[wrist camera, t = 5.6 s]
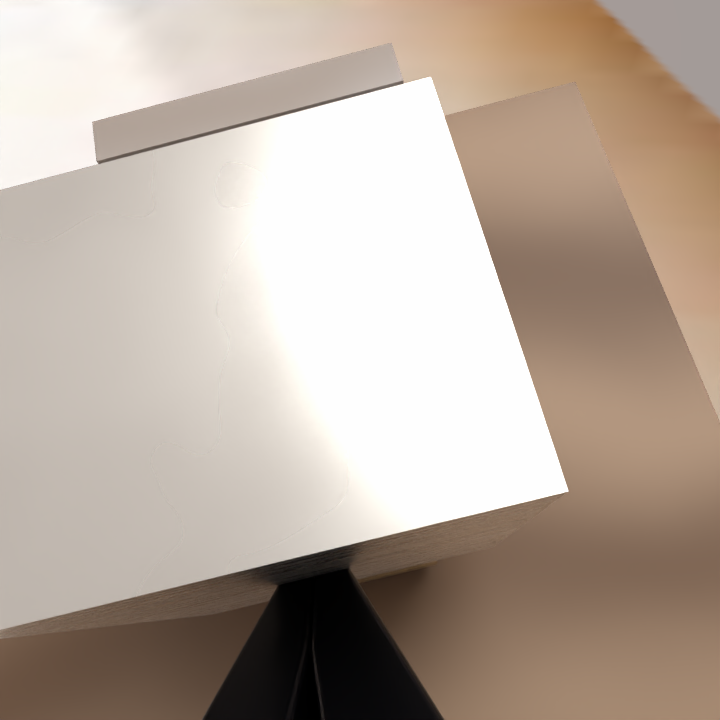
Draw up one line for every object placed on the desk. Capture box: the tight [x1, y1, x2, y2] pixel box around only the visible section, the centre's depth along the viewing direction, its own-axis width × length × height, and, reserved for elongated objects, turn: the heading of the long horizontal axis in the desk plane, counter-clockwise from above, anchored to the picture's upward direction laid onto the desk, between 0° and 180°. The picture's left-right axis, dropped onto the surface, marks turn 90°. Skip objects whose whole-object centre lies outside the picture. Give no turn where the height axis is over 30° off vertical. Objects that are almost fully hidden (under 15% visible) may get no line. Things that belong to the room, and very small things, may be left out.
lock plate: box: [0, 43, 720, 720], centre depth 13 cm, size 22×16×5 cm
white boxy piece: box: [0, 77, 568, 639], centre depth 11 cm, size 9×5×9 cm, turn 13°
